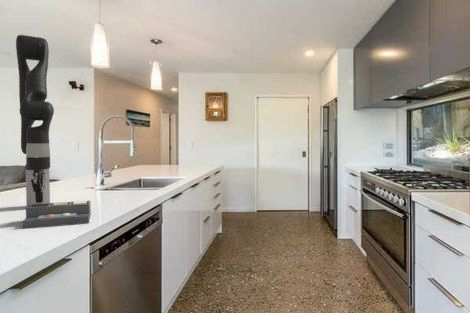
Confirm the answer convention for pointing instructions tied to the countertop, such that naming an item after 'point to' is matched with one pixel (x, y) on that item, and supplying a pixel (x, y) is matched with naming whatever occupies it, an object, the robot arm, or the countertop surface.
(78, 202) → the key cream
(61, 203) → the key sage
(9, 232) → the countertop surface
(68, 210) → the keypad
